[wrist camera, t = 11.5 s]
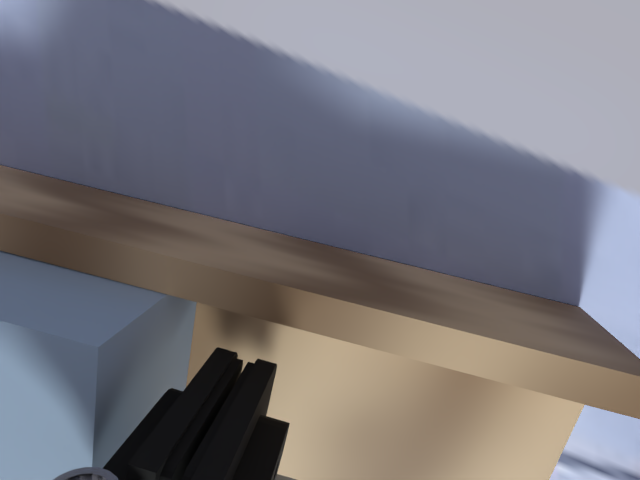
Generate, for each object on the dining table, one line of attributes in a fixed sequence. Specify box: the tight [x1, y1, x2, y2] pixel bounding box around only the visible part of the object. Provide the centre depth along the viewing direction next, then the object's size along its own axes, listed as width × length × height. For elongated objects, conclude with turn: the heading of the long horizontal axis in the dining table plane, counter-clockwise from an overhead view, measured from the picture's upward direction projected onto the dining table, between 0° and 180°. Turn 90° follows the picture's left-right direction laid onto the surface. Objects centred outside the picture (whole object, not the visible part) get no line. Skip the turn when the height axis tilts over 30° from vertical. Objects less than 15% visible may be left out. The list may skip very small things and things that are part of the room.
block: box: [0, 251, 197, 480], centre depth 11 cm, size 5×5×4 cm
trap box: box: [0, 165, 640, 480], centre depth 14 cm, size 29×15×4 cm, turn 78°
